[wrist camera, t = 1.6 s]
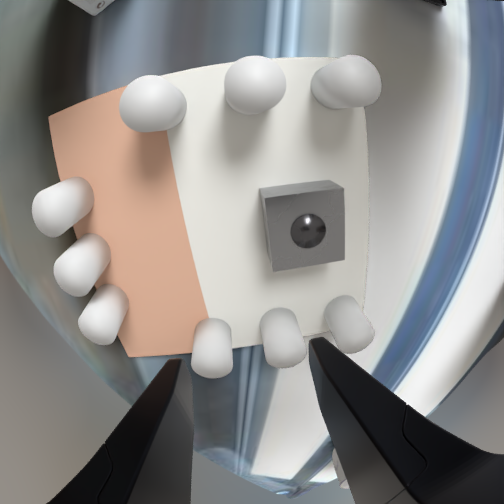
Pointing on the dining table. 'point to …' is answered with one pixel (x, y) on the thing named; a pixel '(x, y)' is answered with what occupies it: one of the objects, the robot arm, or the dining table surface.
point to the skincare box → (92, 5)
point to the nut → (304, 224)
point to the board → (211, 208)
